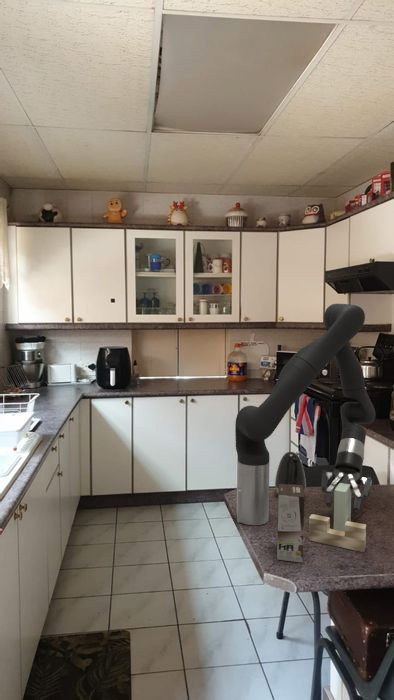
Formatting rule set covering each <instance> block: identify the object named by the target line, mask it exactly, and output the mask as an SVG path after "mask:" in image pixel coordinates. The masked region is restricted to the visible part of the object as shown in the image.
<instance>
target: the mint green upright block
mask: <svg viewBox="0 0 394 700" xmlns="http://www.w3.org/2000/svg"><path fill="white" fill-rule="evenodd" d="M333 494H334V495H333V497H334V498H333V504H334V505H333V529H334V530H339V531H344V532H345V524H346V522H347V521H350V522H352V520H351V517H352V516H351V515H352V489H351V488H350V484H344V483H339V484H338V486H337V487H336V489H335V490H334V493H333Z"/></svg>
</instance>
